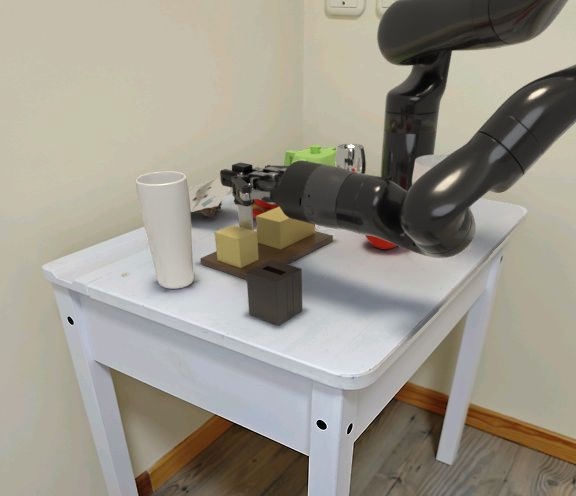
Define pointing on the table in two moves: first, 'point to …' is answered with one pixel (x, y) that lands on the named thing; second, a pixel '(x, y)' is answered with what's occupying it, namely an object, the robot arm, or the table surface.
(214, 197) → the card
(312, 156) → the teapot
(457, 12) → the robot arm
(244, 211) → the knife
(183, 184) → the white tall tumbler
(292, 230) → the butter block
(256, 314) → the knife block
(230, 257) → the butter slice
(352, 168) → the wineglass
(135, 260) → the table surface
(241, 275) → the butter board
